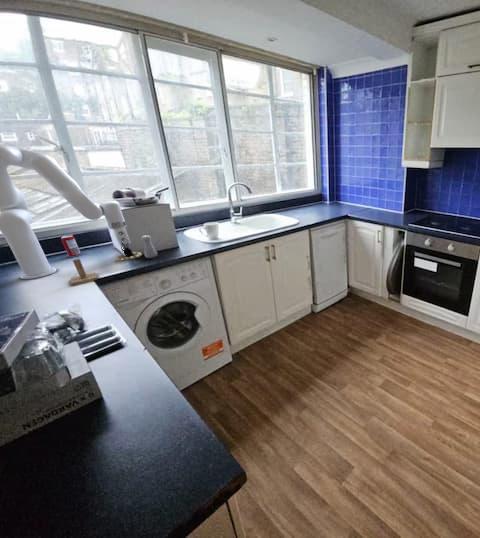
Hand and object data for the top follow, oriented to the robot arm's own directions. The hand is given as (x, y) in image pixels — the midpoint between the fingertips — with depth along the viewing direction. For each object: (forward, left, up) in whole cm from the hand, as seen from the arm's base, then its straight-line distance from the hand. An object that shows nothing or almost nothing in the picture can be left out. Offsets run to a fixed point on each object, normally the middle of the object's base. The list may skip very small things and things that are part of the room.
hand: (128, 254), depth 166 cm
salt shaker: (+14, +9, -2) cm, 16 cm away
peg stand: (+24, -20, -1) cm, 31 cm away
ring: (+5, 0, 0) cm, 5 cm away
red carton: (-28, -22, -2) cm, 36 cm away
